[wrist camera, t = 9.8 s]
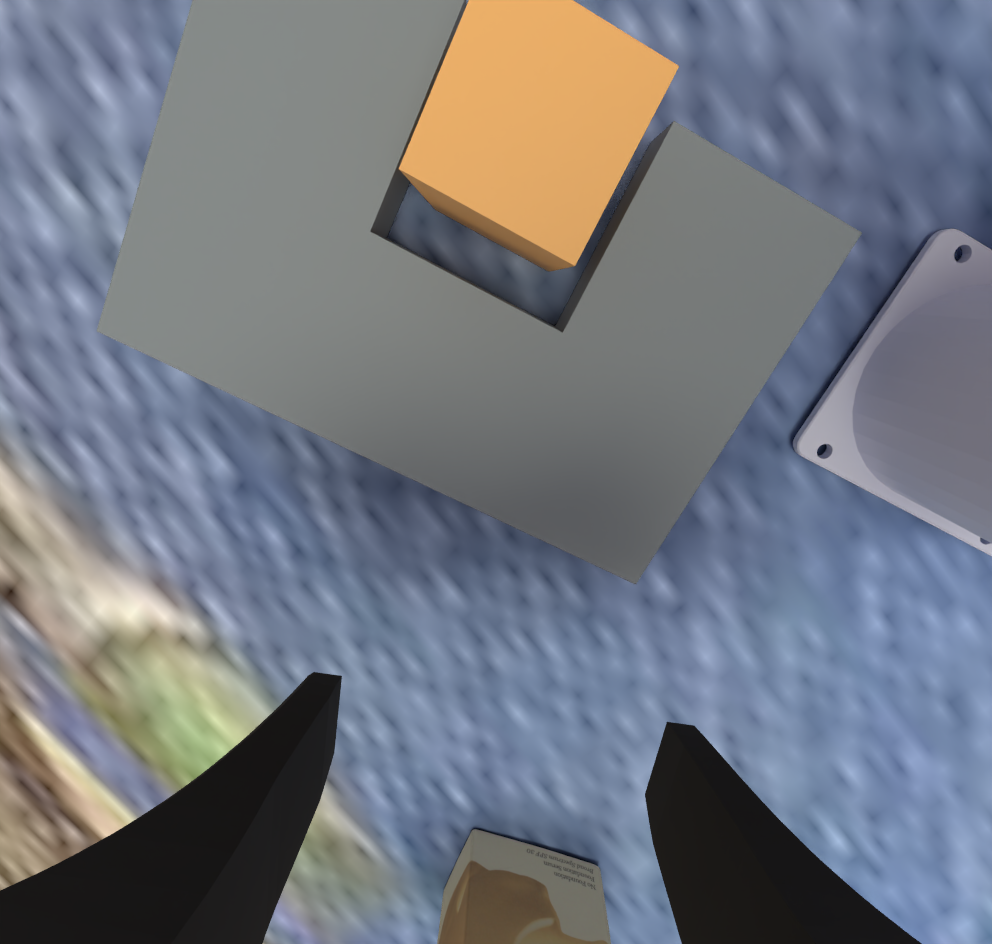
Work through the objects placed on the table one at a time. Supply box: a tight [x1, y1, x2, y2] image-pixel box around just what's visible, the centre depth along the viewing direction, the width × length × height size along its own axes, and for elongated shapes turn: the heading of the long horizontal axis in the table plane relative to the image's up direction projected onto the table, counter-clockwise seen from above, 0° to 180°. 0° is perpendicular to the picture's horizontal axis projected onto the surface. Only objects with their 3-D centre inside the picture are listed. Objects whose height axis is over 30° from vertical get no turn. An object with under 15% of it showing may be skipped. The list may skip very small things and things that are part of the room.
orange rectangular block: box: [399, 0, 679, 272], centre depth 15 cm, size 4×4×7 cm
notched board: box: [97, 0, 862, 584], centre depth 18 cm, size 18×12×2 cm, turn 63°
